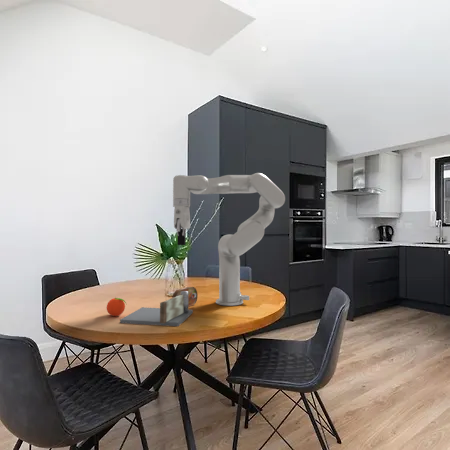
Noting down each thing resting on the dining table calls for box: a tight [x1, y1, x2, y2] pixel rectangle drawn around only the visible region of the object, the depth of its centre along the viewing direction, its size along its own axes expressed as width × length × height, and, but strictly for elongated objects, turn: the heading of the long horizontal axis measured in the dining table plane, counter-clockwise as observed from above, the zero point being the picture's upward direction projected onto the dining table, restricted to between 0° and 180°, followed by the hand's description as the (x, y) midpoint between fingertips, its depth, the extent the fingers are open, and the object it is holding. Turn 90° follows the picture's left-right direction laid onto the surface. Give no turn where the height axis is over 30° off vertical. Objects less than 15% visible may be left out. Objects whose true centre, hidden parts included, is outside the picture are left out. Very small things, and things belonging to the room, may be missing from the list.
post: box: [181, 291, 189, 314], centre depth 131 cm, size 3×3×10 cm
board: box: [119, 306, 194, 327], centre depth 128 cm, size 22×19×1 cm
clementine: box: [106, 297, 127, 317], centre depth 131 cm, size 8×7×7 cm
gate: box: [159, 295, 184, 323], centre depth 122 cm, size 15×2×7 cm, turn 160°
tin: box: [172, 286, 198, 308], centre depth 146 cm, size 15×3×8 cm, turn 148°
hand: (181, 244), depth 147 cm, fingers closed
